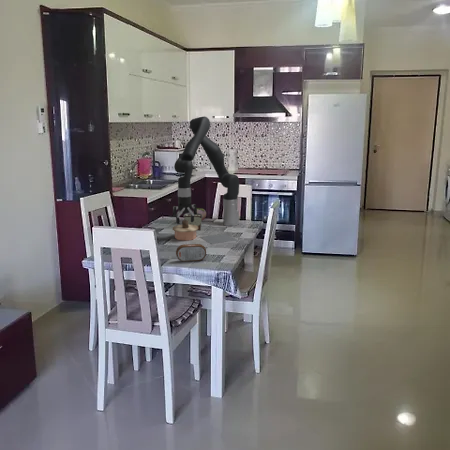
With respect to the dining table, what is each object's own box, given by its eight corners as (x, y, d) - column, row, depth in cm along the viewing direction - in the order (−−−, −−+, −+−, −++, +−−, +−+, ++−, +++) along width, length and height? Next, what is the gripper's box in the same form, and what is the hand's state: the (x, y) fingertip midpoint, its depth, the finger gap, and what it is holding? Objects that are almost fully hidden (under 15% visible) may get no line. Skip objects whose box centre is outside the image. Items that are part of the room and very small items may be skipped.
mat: (224, 234, 280) (224, 233, 280) (237, 241, 265) (237, 240, 265) (198, 237, 273) (198, 236, 272) (211, 244, 258) (211, 244, 258)
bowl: (191, 235, 279) (190, 225, 277) (198, 239, 269) (198, 229, 267) (172, 237, 274) (172, 227, 272) (180, 242, 263) (179, 232, 262)
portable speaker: (206, 259, 233) (205, 243, 231) (206, 261, 230) (206, 244, 228) (176, 260, 231) (175, 244, 229) (176, 262, 228) (176, 246, 226)
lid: (192, 224, 279) (192, 217, 278) (202, 230, 266) (202, 222, 265) (168, 227, 273) (168, 219, 272) (178, 233, 260) (177, 225, 259)
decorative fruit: (208, 221, 314) (208, 206, 312) (202, 223, 307) (202, 208, 305) (197, 219, 319) (197, 205, 317) (190, 221, 312) (190, 207, 310)
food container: (204, 228, 295) (204, 212, 292) (202, 230, 289) (202, 215, 286) (185, 227, 296) (184, 212, 294) (183, 230, 290) (183, 214, 288)
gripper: (193, 193, 271) (194, 220, 275) (170, 195, 265) (171, 222, 269) (198, 195, 265) (199, 222, 269) (175, 197, 259) (176, 225, 262)
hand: (185, 222), depth 269 cm, fingers open, 8 cm apart
